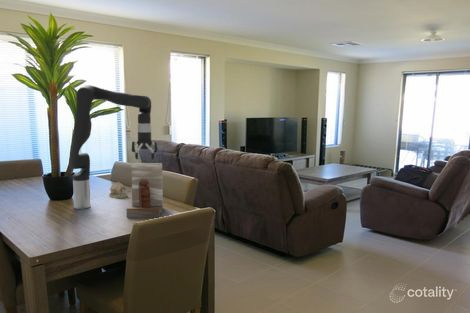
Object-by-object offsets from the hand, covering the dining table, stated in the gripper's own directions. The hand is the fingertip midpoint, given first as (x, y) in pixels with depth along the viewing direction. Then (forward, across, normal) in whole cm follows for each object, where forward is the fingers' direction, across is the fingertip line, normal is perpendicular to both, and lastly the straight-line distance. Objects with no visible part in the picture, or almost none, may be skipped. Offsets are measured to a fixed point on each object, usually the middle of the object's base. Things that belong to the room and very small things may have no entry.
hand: (144, 159), depth 208 cm
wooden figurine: (+30, 0, 0) cm, 30 cm away
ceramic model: (+32, -24, +40) cm, 57 cm away
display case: (+32, 0, -1) cm, 32 cm away
